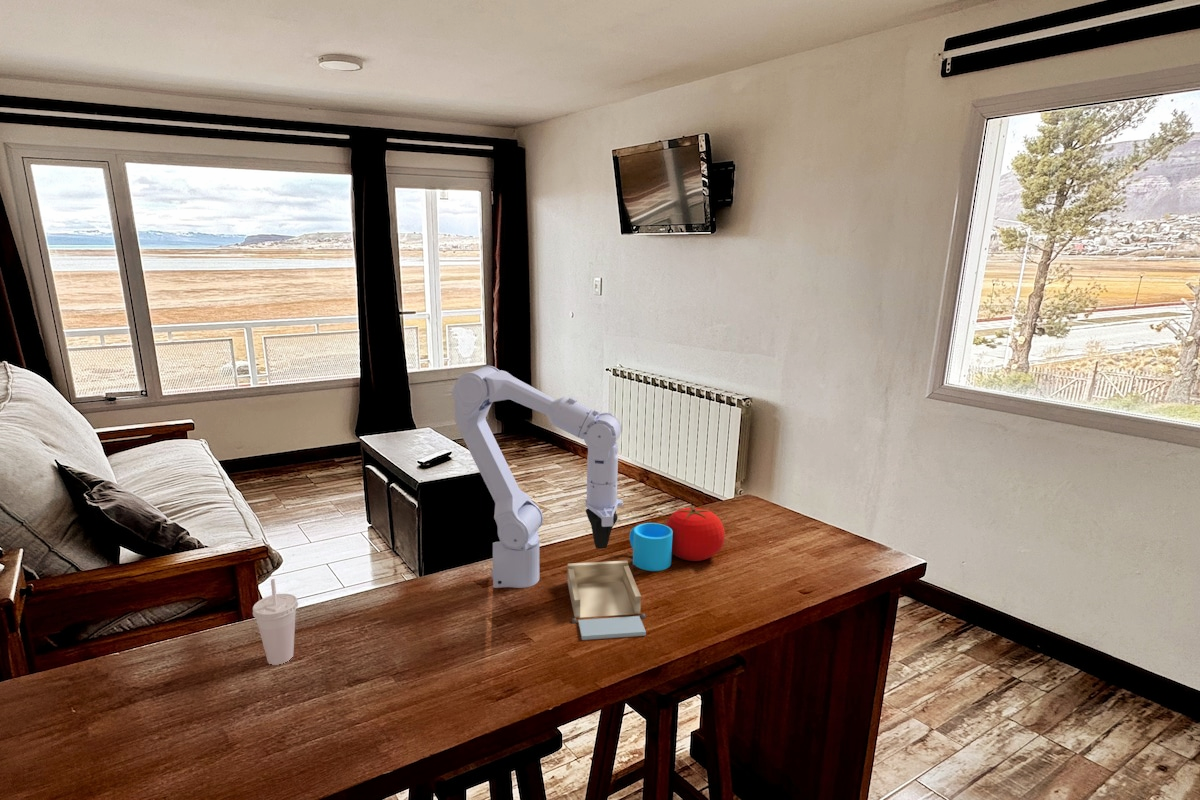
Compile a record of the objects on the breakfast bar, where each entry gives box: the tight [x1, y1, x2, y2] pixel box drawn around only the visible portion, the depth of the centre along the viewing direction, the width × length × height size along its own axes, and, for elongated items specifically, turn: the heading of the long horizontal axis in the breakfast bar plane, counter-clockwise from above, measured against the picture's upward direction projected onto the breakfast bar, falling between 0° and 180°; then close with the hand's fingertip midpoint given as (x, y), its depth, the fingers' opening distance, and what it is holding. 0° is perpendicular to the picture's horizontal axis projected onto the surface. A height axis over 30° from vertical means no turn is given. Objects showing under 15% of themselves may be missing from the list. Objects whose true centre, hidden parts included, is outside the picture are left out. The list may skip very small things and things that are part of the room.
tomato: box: [665, 505, 726, 562], centre depth 139 cm, size 12×13×11 cm
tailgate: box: [577, 615, 647, 641], centre depth 110 cm, size 11×1×5 cm
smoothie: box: [252, 578, 299, 666], centre depth 100 cm, size 6×6×14 cm
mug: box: [629, 522, 673, 572], centre depth 136 cm, size 12×8×8 cm
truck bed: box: [566, 560, 646, 624], centre depth 119 cm, size 13×15×5 cm
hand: (600, 546), depth 121 cm, fingers closed
